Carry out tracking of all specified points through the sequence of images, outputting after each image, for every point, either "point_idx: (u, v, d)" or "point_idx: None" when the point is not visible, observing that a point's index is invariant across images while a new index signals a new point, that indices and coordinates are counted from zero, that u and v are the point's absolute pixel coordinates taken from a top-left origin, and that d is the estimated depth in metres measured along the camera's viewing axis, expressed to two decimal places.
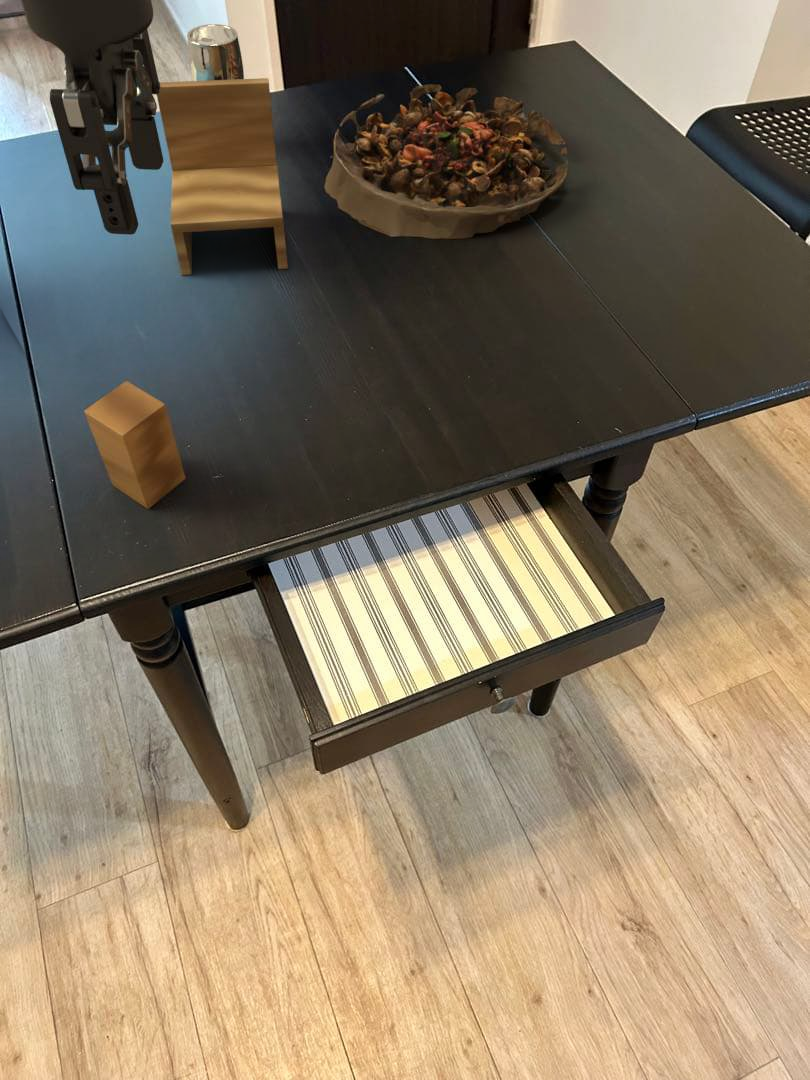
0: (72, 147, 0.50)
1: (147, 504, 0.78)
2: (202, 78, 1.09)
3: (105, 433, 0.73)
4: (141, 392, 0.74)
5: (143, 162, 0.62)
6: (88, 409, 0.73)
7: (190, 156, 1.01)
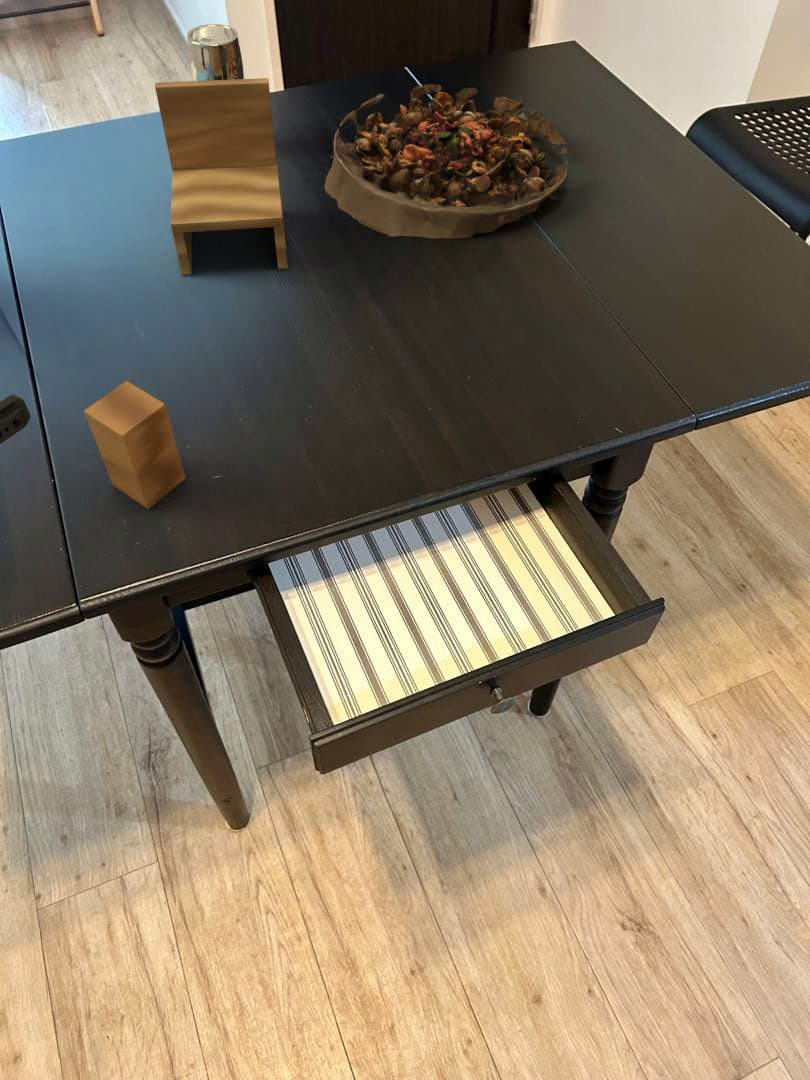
0: None
1: (147, 504, 0.78)
2: (202, 78, 1.09)
3: (105, 433, 0.73)
4: (141, 392, 0.74)
5: None
6: (88, 409, 0.73)
7: (190, 156, 1.01)
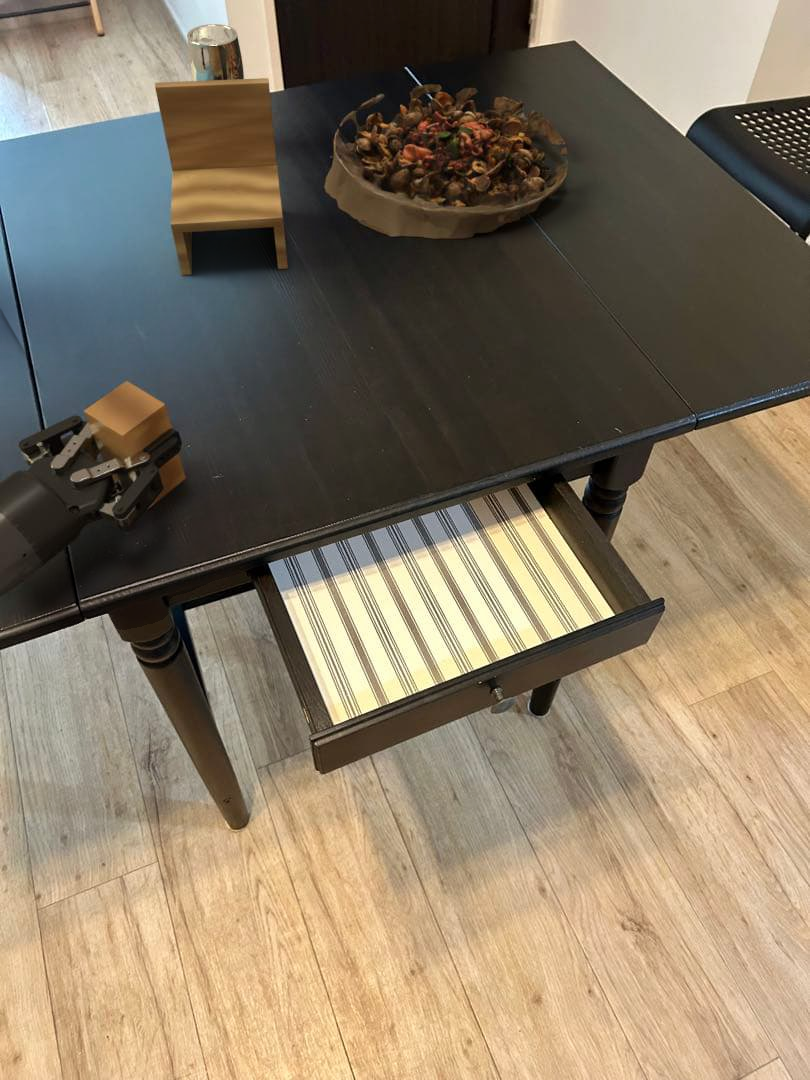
0: None
1: None
2: (202, 78, 1.09)
3: (105, 433, 0.73)
4: (141, 392, 0.74)
5: None
6: (88, 409, 0.73)
7: (190, 156, 1.01)
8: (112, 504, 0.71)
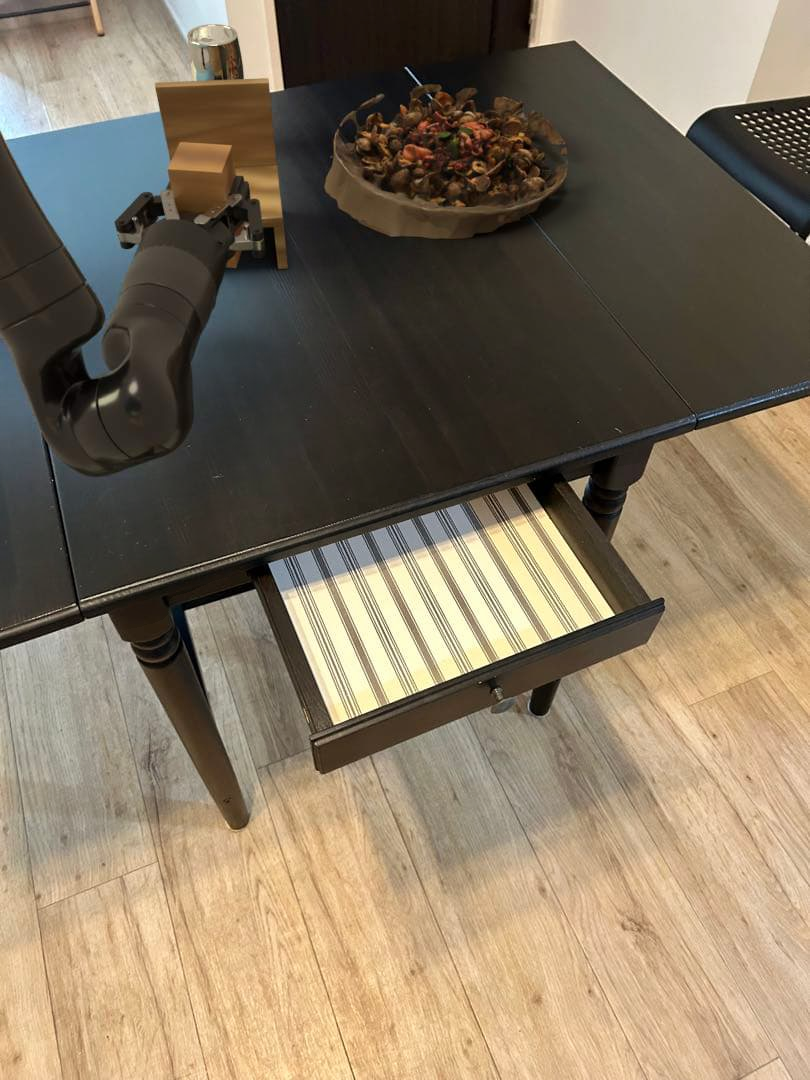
0: None
1: (235, 262, 0.82)
2: (202, 78, 1.09)
3: (195, 184, 0.76)
4: (202, 144, 0.78)
5: None
6: (170, 166, 0.75)
7: None
8: (242, 235, 0.75)
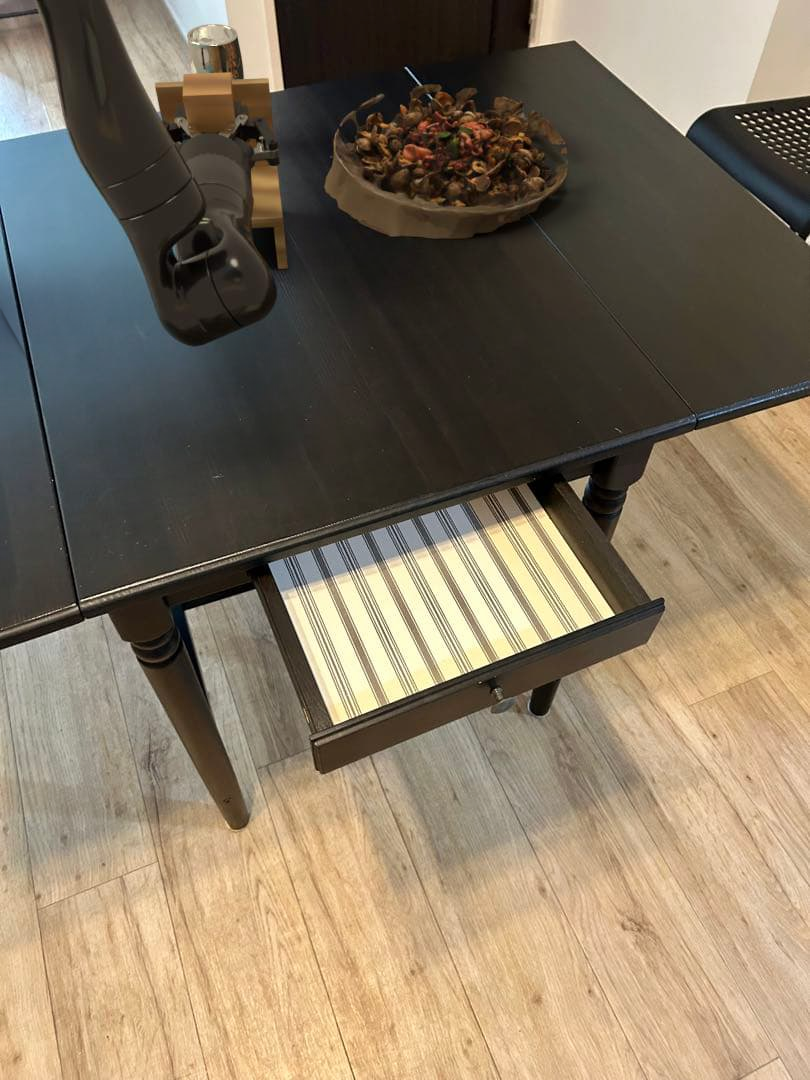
0: None
1: None
2: None
3: (207, 108, 0.86)
4: (204, 74, 0.88)
5: None
6: (184, 93, 0.85)
7: None
8: (258, 147, 0.86)
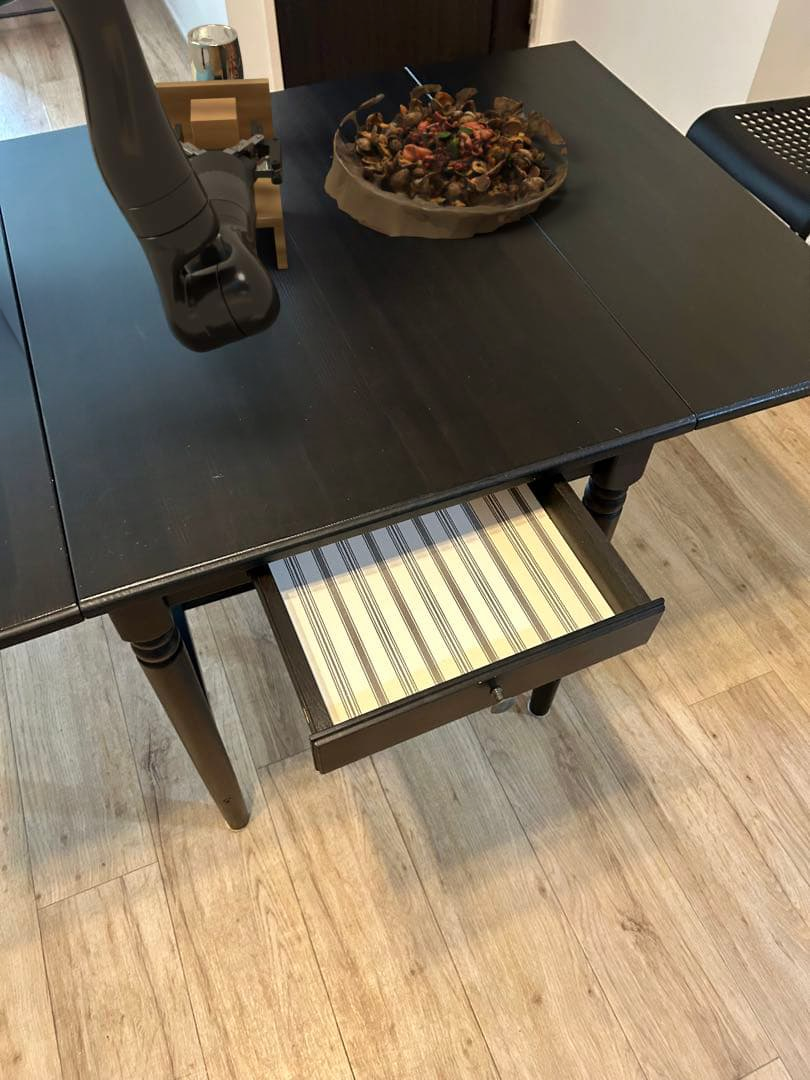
0: None
1: None
2: (202, 78, 1.09)
3: (214, 132, 0.91)
4: (210, 99, 0.93)
5: None
6: (192, 119, 0.90)
7: None
8: (263, 165, 0.90)
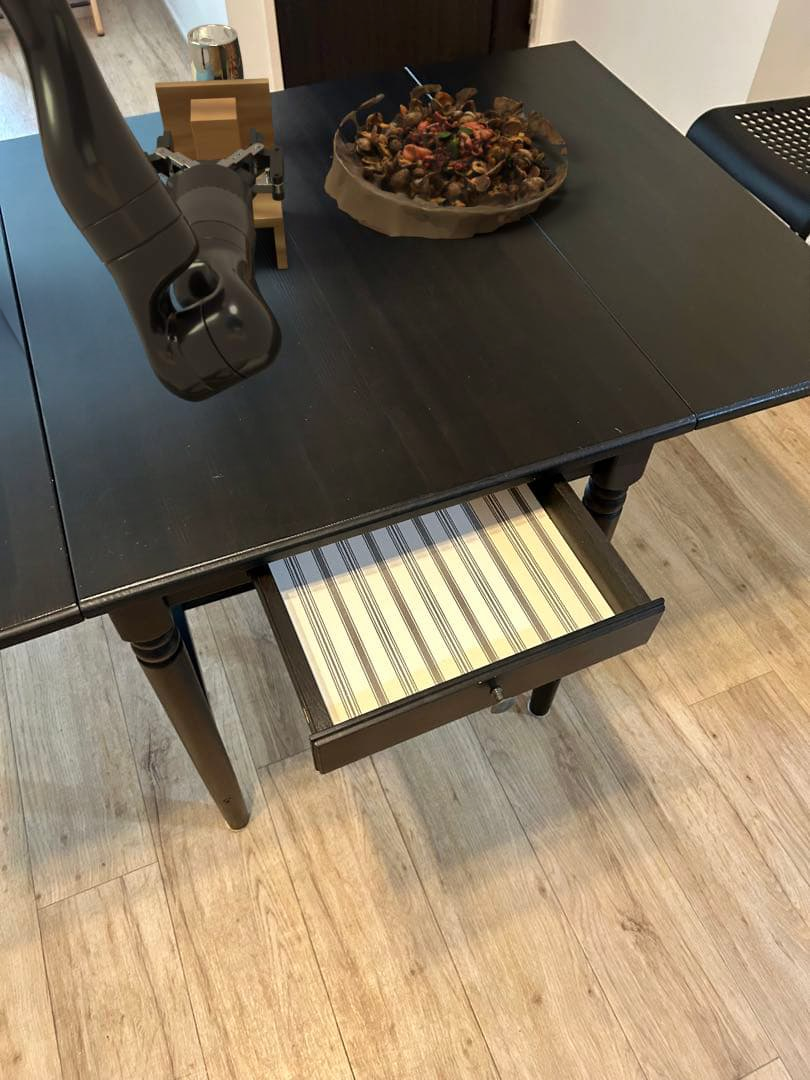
0: None
1: None
2: (202, 78, 1.09)
3: (214, 132, 0.91)
4: (210, 99, 0.93)
5: None
6: (192, 119, 0.90)
7: (190, 156, 1.01)
8: (263, 178, 0.80)
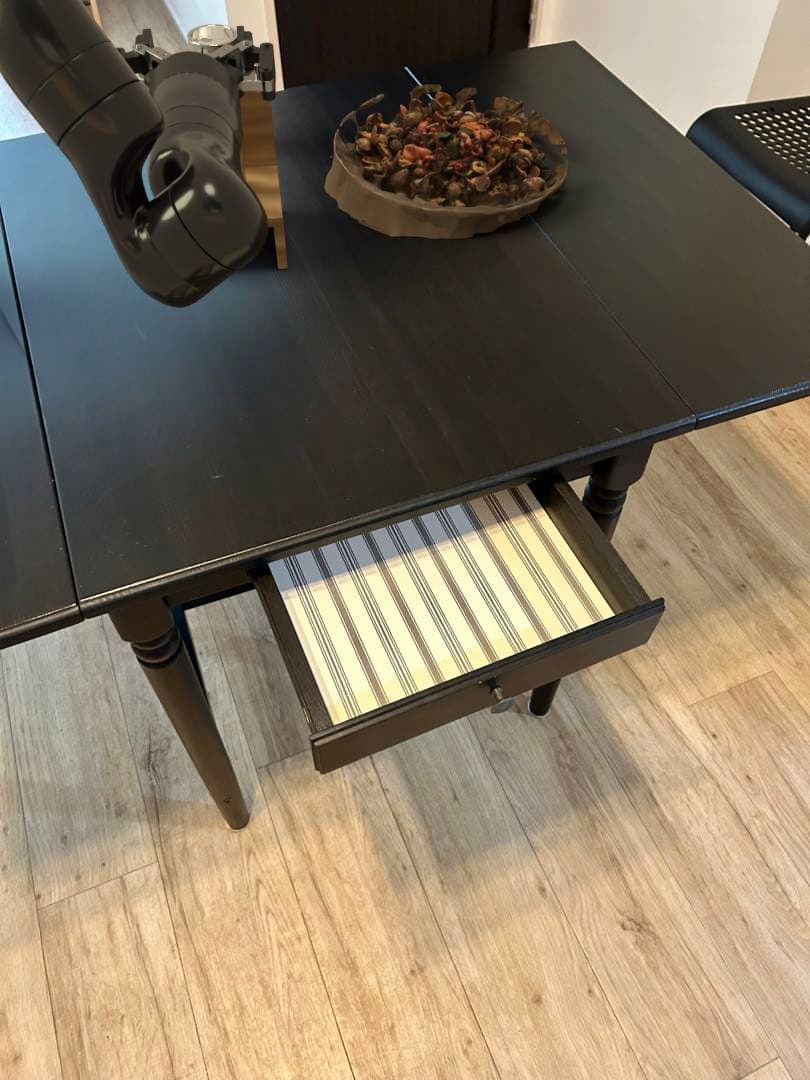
0: None
1: None
2: None
3: None
4: None
5: None
6: None
7: None
8: (251, 75, 0.72)
